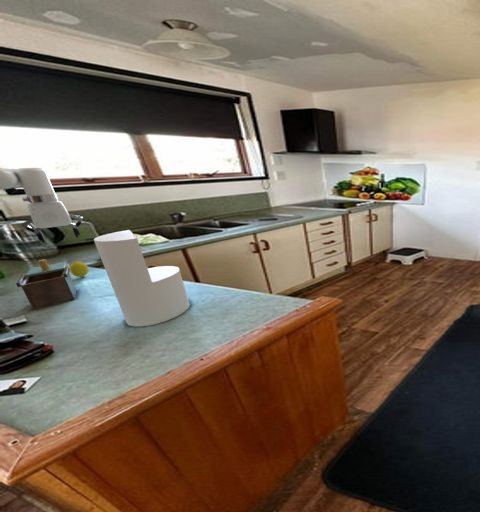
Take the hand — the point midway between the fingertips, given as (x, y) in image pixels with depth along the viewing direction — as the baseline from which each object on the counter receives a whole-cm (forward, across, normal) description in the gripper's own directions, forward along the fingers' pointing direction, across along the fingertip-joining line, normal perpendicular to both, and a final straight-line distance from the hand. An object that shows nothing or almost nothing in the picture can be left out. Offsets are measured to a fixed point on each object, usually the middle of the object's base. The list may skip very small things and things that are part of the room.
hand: (61, 239), depth 117 cm
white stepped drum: (+20, +22, -65) cm, 72 cm away
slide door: (+9, -5, -12) cm, 16 cm away
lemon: (+19, +1, +3) cm, 20 cm away
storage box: (+19, -5, -22) cm, 30 cm away
